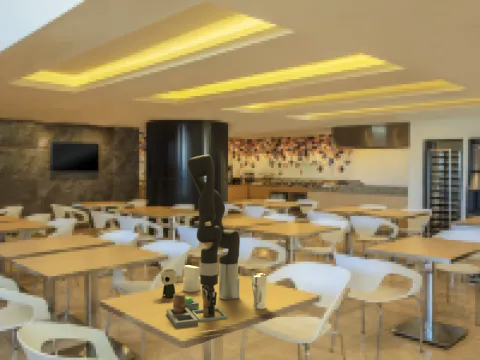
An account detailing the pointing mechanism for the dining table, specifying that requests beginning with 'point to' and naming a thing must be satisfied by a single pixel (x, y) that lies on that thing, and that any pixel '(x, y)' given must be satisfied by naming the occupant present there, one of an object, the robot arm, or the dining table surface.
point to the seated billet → (178, 303)
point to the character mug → (169, 281)
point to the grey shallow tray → (182, 318)
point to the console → (192, 305)
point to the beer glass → (259, 290)
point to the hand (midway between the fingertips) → (209, 312)
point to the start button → (188, 300)
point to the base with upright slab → (191, 278)
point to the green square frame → (210, 317)
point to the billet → (206, 308)
